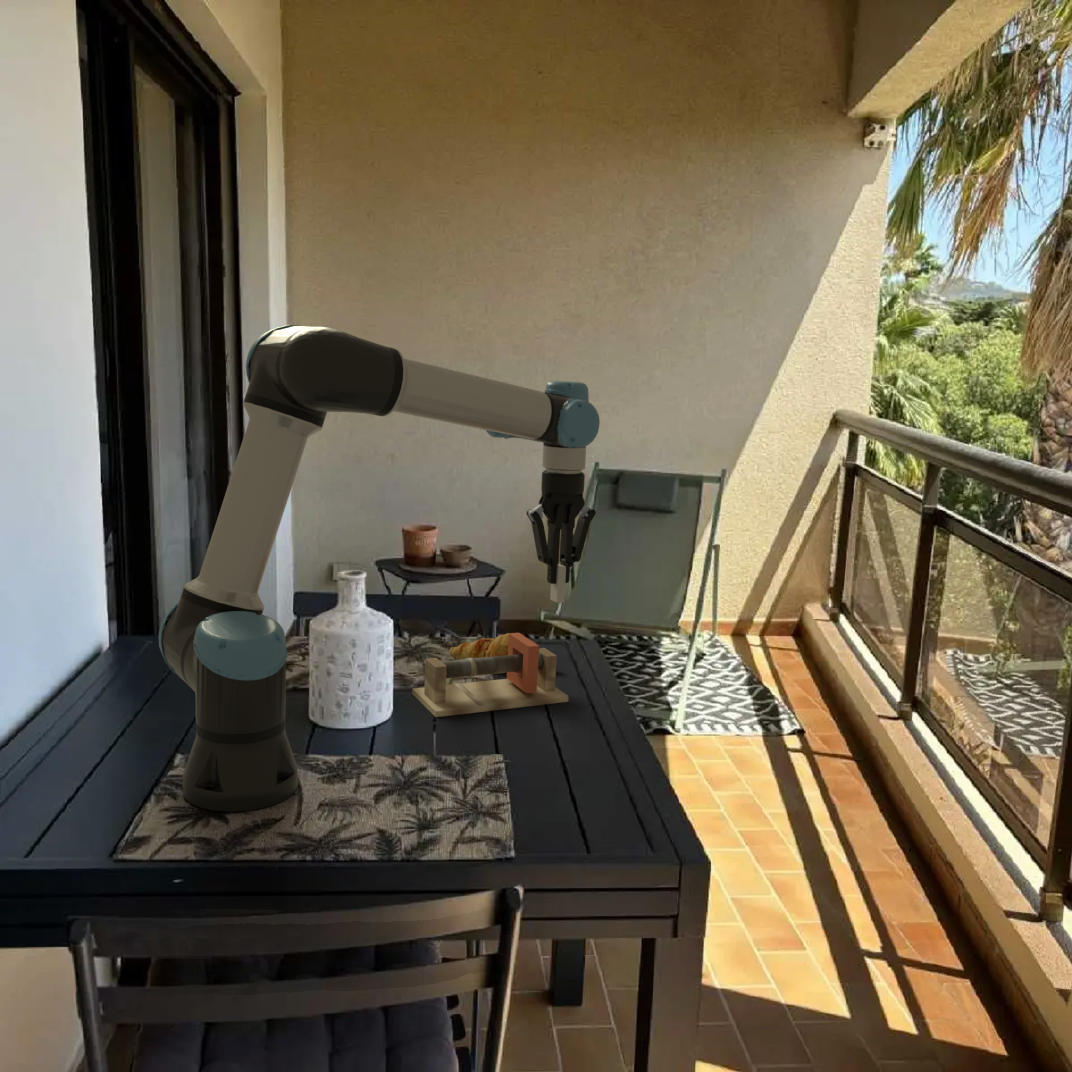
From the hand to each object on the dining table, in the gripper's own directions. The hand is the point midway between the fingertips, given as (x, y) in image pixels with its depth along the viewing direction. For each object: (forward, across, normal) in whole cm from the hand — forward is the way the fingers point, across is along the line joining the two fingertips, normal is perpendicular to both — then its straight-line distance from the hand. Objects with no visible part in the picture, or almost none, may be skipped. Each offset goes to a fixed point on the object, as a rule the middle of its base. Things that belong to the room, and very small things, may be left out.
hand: (557, 600), depth 181 cm
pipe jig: (+17, +12, 0) cm, 21 cm away
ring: (+15, +6, 0) cm, 16 cm away
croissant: (+17, +3, -17) cm, 24 cm away
